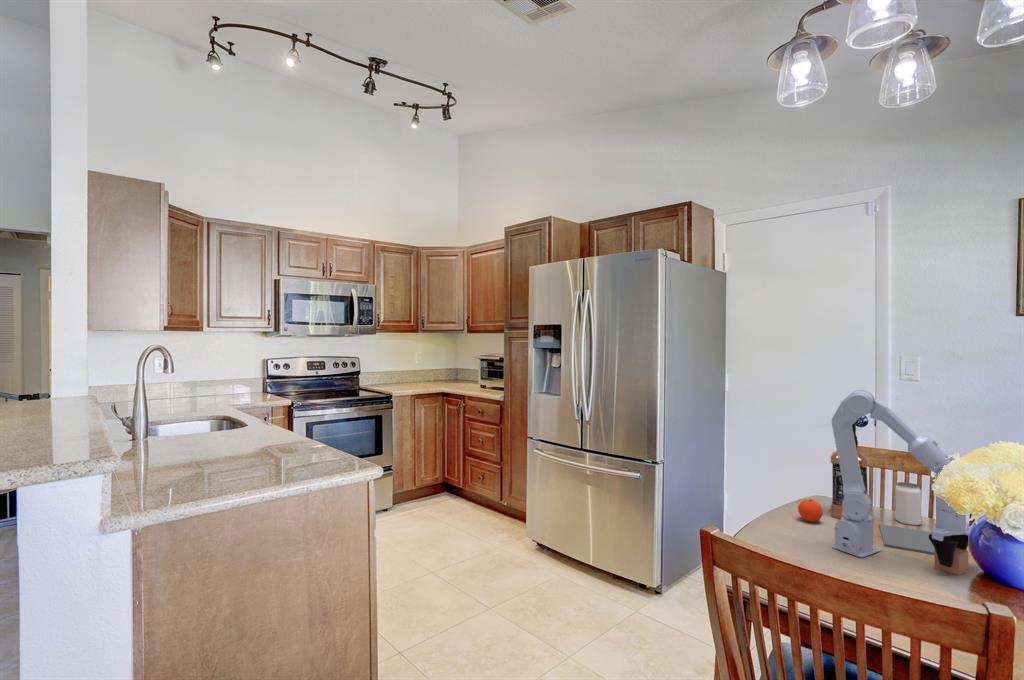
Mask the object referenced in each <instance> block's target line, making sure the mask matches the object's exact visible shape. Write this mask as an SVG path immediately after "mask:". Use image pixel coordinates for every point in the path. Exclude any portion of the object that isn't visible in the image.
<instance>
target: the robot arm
mask: <svg viewBox="0 0 1024 680" xmlns="http://www.w3.org/2000/svg"><path fill="white" fill-rule="evenodd" d="M868 414H870V415H869V417H868V418H869V419H874V420H876V421H881V422H883V424H885V425H886V426H887V427H889V429H891V430H892V431H893V432H894V433H895V434H897V436H898V437H900V438H901V439H902V440H903V441H904V442H906V443H907V452H909V453H910V454H911V455H912V456H913V457H914V458H915V459H916V460H917V461H918V462H920V464H922V465H923V467H925V468H926V469H927V470H928V471H931V472H933V473H934V475H935V479H936V480H937V477H938V475H939V474H940V472H941V471H942V470H943V469H942V468H943V466H944V465H947V464H949V463H950V462H951V461H952V460H954V461H956V460H955V457H953V456H952V457H950V456H949V455H948V454H947V453H946V452H945V451H944V450H942V449H941V448H940V447H939V446H938V445H939V443H938V441H936V440H935V439H931V438H930V437H926V436H920V435H919V434H917V433H916V432H915V431H914V430H913V428H911V427H909V425H908V424H906V422H904V421H903V419H901V417H900V416H899V415H897V413H896V412H894V410H893V409H892V408H890V407H889V406H888V405H886V404H885V403H884V402H883V401H881V400H880V399H879V398H877V397H875V396H874V395H873V394H872V393H871V392H869V391H867V390H865V389H864V390H863V389H860V390H859V389H857V390H854V391H852V392H851V393H849V395H848V396H846V397H845V398H844V399H843V400H842V401H841V402H840V404H839V406H838V408H837V409H836V410H835V412H834V414H833V415H832V418H831V427H832V433H833V437H834V441H835V447H836V451H837V454H838V459H839V464H840V470H841V475H842V480H843V494H844V500H843V503H842V509H843V511H842V517H841V518H840V520H838V521H837V522H836V523H835V525H834V544H833V545H831V548H833V549H836V550H839V551H842V552H845V553H847V554H850V555H853V556H856V557H858V558H865V557H868V556H870V555H874V554H876V553H879V552H881V549H880V548H879V547H875V546H874V517H873V516H872V515H871V508H872V504H873V500H872V498H871V496H870V495H869V493H868V494H867V492H866V490H865V486H864V483H863V480H862V475H861V470H860V465H859V459H858V454H857V451H858V448H857V449H856V444H855V439H854V434H853V428H852V425H853V424H854V423H855V422H857V421H858V419H860V418H862V417H864V416H867V415H868ZM948 457H950V458H948ZM945 458H947V459H945ZM934 467H935V468H934ZM935 473H936V474H935ZM938 473H939V474H938ZM869 513H870V514H869ZM966 516H967V514H966V515H960V514H958V513H956V511H955V510H954V508H952V507H950V506H948V504H947V503H946V502H945V501H944V500H943V499H941V498H939V497H937V496H936V495H935V523H934V529H933V530H932V531H931V532H932V534H930V535H929V540H930V541H931V542H932V544H933V546H934V548H935V550H936V553H937V556H938V560H939V563H940V565H943V566H946V567H951V566H952V562H953V555H954V551H955V549H956V548H959V549H962V550H966V551H967V550H968V546H969V545H968V535H969V533H970V531H971V530H970V523H969V522H967V520H966V519H967V518H966Z"/></svg>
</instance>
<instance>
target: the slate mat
mask: <svg viewBox="0 0 1024 680" xmlns="http://www.w3.org/2000/svg"><path fill="white" fill-rule="evenodd" d="M879 529H880V534H881V537H882V542H883V546H884V547H886V548H887V547H888V548H894V549H898V550H904V551H911V552H917V553H922V554H929V555H934V546H933V544H932V542H931V541H930V540H929V535H930V534H932V531H925V530H921V529H914V528H907V527H899V526H894V525H887V524H881V523H880V524H879Z"/></svg>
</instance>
